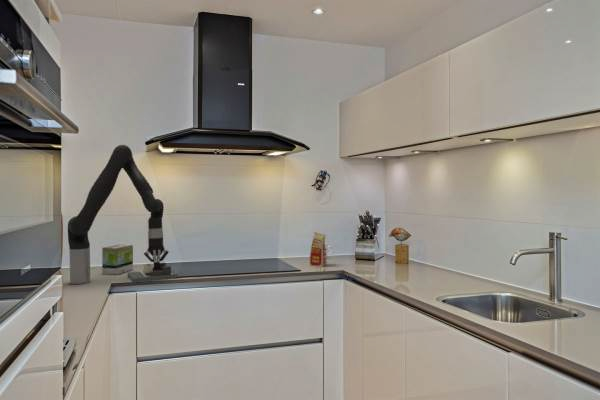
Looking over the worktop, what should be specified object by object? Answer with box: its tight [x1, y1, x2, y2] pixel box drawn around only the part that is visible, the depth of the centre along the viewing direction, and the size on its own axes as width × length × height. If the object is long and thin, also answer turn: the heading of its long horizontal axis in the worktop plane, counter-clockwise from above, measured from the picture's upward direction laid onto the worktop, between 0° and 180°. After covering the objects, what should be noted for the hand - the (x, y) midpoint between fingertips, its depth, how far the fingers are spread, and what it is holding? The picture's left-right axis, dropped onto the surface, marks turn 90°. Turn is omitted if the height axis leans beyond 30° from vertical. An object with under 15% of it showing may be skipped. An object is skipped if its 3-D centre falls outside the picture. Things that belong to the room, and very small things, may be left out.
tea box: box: [101, 244, 134, 275], centre depth 254 cm, size 15×10×15 cm
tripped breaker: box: [143, 263, 154, 274], centre depth 238 cm, size 4×3×5 cm
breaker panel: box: [127, 262, 178, 283], centre depth 239 cm, size 22×18×6 cm
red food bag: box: [308, 231, 327, 268], centre depth 269 cm, size 9×9×20 cm
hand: (156, 269), depth 240 cm, fingers closed
